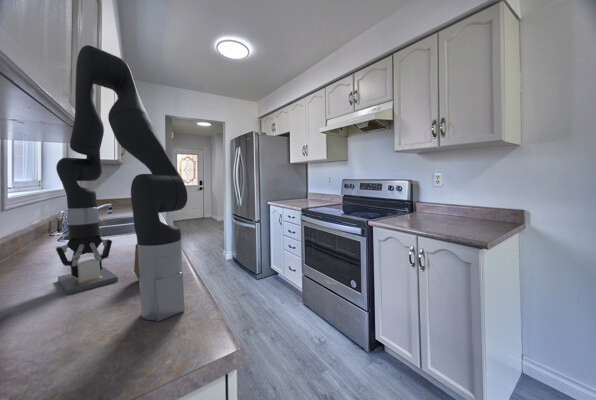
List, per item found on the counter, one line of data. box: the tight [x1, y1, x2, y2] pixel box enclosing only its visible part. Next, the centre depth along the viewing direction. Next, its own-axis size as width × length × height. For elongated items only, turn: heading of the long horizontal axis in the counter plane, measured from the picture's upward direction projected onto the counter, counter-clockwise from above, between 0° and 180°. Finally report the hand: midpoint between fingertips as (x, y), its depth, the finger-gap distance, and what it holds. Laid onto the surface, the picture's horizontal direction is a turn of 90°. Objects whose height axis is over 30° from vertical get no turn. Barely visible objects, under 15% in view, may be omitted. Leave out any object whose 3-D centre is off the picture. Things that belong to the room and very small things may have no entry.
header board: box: [57, 266, 119, 296], centre depth 80 cm, size 16×12×4 cm
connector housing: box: [77, 256, 101, 282], centre depth 80 cm, size 9×5×5 cm, turn 51°
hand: (87, 274), depth 80 cm, fingers closed on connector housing, 4 cm apart
